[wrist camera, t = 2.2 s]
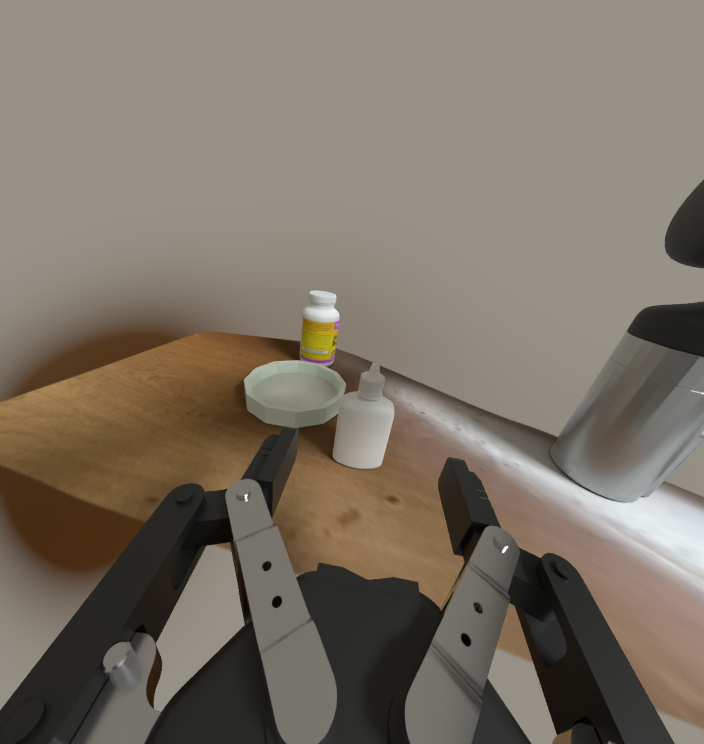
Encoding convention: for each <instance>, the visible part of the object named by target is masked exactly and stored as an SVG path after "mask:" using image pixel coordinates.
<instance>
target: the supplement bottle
mask: <svg viewBox="0 0 704 744" xmlns="http://www.w3.org/2000/svg"><path fill="white" fill-rule="evenodd" d="M309 301H310V304H309V306H306V307H305V308H304V309H303V311H302V327H301V342H300V360H301V361H305V362H311V363H317V364H321V365H323V366H325V367H327V366H330V365H331V364H332V363H333V362H334V358H335V350H336V341H337V333H338V324H339V313H338V311H337V310H336V309H334V304H335V303H336V295H335V294H333V293H329V292H325V291H310V293H309Z"/></svg>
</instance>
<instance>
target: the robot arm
mask: <svg viewBox="0 0 704 744" xmlns="http://www.w3.org/2000/svg"><path fill="white" fill-rule="evenodd" d="M665 249H666V252H667V253H668V255H669V256H670V258H671V259H673V260H675V261H677V262H679V263H681V264H684V265H687V266H692V267H698V268H704V180H703V181H702V182H701V183H700V184H699V185H698V186H697V187H696V188H695V190H694V191H693V192H692V193H691V194H690V195H689V196H688V197H687V199H686V200H685V201H684V203H683V204H682V205H681V206H680V208H679V209H678V211H677V212H676V214H675V216H674V217H673V219H672V221H671V223H670V225H669V227H668V229H667V233H666V237H665ZM298 434H299V429H298V428H292V427H287V426H284V428H283V430H282V431H281V433H280V435H275V434H272V435H270V436H269V437H268V438H266V439H265V440H264V442H263V444H262V445H261V447H260V449H259V450H258V452H257V454H256V455H255V457H254V459H253V460H252V462H251V464H250V465H249V467H248V469H247V470H246V472H245V474H244V475H243V477H242V479H241V480H239V481H237V482H235V483H233V484H232V485H231V486H230V487H229V488H228V489H224V490H218V491H208V492H204V489H203V488H202V486H200V485H198V484H194V483H190V484H184V485H181V486H179V487H177V488H175V489H174V490H172V491H171V492H170V493H169V494H168V495H167V496H166V497H165V499H164V500H163V501H162V503H161V504H160V505H159V506H158V508H157V509H156V510H155V512H154V513H153V514H152V515H151V517H150V518H149V519H148V521H147V522H146V523H145V525H144V526H143V527H142V528H141V530H140V531H139V532H138V534H137V535H136V536H135V537H134V539H133V540H132V541H131V543H130V544H129V545H128V547H127V548H126V549H125V550H124V552H123V553H122V554H121V555H120V557H119V558H118V559H117V561H116V562H115V563H114V565H113V566H112V567H111V568H110V570H109V571H108V572H107V574H106V575H105V576H104V577H103V579H102V580H101V582H100V583H99V584H98V585H97V587H96V588H95V589H94V590H93V592H92V593H91V594H90V595H89V597H88V598H87V599H86V601H85V602H84V603H83V605H82V606H81V607H80V608H79V610H78V611H77V612H76V614H75V615H74V616H73V617H72V619H71V620H70V621H69V623H68V624H67V625H66V626H65V628H64V629H63V630H62V632H61V633H60V634H59V635H58V637H57V638H56V639H55V641H54V642H53V643H52V644H51V646H50V647H49V648H48V650H47V651H46V652H45V654H44V655H43V656H42V658H41V659H40V660H39V661H38V663H37V664H36V665H35V666H34V668H33V669H32V670H31V672H30V673H29V674H28V675H27V677H26V678H25V679H24V681H23V682H22V683H21V684H20V686H19V687H18V688H17V690H16V691H15V692H14V693H13V695H12V696H11V698H10V699H9V700H8V701H7V703H6V704H5V705H4V706H3V708H2V709H1V710H0V744H531V742H530V741H529V740H528V738H527V737H526V735H525V734H524V732H523V731H522V729H521V728H520V726H519V725H518V723H517V722H516V720H515V719H514V717H513V716H512V714H511V713H510V711H509V710H508V708H507V707H506V705H505V704H504V702H503V701H502V700H501V698H500V696H499V695H498V693H497V692H496V690H495V689H494V687H493V686H492V684H491V683H490V681H489V680H488V678H487V676H488V673H489V669H490V666H491V663H492V659H493V656H494V653H495V649H496V646H497V643H498V639H499V636H500V632H501V629H502V626H503V622H504V619H505V615H506V612H507V609H508V605H509V603H511V604H513V605H514V606H515V608H516V611H517V614H518V617H519V620H520V623H521V626H522V630H523V633H524V636H525V639H526V642H527V645H528V648H529V651H530V654H531V657H532V660H533V663H534V666H535V669H536V672H537V675H538V678H539V681H540V684H541V687H542V691H543V693H544V697H545V700H546V703H547V706H548V709H549V712H550V715H551V718H552V721H553V724H554V727H555V730H556V733H557V736H556V737H555V738H554V740H553V744H674V742H673V740H672V738H671V736H670V735H669V733H668V731H667V729H666V728H665V726H664V724H663V722H662V720H661V719H660V717H659V715H658V713H657V711H656V710H655V708H654V706H653V704H652V702H651V701H650V699H649V697H648V695H647V694H646V692H645V690H644V688H643V686H642V685H641V683H640V681H639V679H638V677H637V676H636V674H635V672H634V670H633V669H632V667H631V665H630V663H629V661H628V660H627V658H626V656H625V654H624V652H623V651H622V649H621V647H620V645H619V643H618V642H617V640H616V638H615V636H614V635H613V633H612V631H611V629H610V627H609V626H608V624H607V622H606V620H605V618H604V617H603V615H602V613H601V611H600V610H599V608H598V606H597V604H596V602H595V601H594V599H593V597H592V595H591V593H590V592H589V590H588V588H587V586H586V584H585V583H584V581H583V579H582V577H581V576H580V574H579V573H578V571H577V570H576V569H575V568H574V567H573V566H572V565H571V564H570V563H569V562H568V561H567V560H565V559H564V558H562V557H560V556H558V555H556V554H553V553H546V554H544V555H543V556H542V558H539V557H537V556H535V555H533V554H531V553H529V552H527V551H525V550H523V549H521V548H519V547H518V545H517V543H516V541H515V540H514V538H513V537H512V536H511V535H510V534H509V533H507V532H506V531H505V530H503V529H501V527H500V524H499V522H498V520H497V517H496V515H495V513H494V510H493V508H492V506H491V503H490V501H489V500H488V496H487V494H486V492H485V489H484V487H483V485H482V482H481V480H480V479H479V478H478V477H477V476H476V475H475V473H474V472H470V471H469V470H468V468H467V465H466V463H465V461H464V460H461V459H456V458H450V457H449V458H448V459H447V460H446V463H445V465H444V468H443V470H442V472H441V475H440V477H439V481H438V490H439V494H440V498H441V502H442V507H443V511H444V515H445V519H446V523H447V528H448V532H449V536H450V540H451V544H452V549H453V553H454V555H459V556H463V558H464V562H465V563H464V564H463V566H462V568H461V570H460V572H459V574H458V576H457V578H456V580H455V582H454V584H453V586H452V588H451V590H450V592H449V594H448V596H447V598H446V600H445V602H444V604H443V605H442V607H441V609H440V608H439V607H438V606H437V605H436V604H435V603H434V602H433V601H432V600H430V599H429V598H428V597H427V596H425V595H424V594H422V593H420V592H419V587H418V582H415V581H410V580H405V579H400V578H395V577H392V578H383V579H374V580H367V579H365V578H363V577H361V576H359V575H357V574H355V573H353V572H351V571H349V570H347V569H345V568H343V567H339V566H334V565H329V564H323V563H318V568H317V571H311V572H307V573H304V574H302V575H299V576H298V577H296V576H295V573H294V571H293V568H292V565H291V562H290V559H289V557H288V554H287V551H286V548H285V545H284V542H283V540H282V537H281V534H280V531H279V529H278V527H277V525H276V524H275V525H274V524H273V522H272V519H271V518H272V517H273V515H274V512H275V510H276V507H277V505H278V502H279V500H280V497H281V495H282V492H283V490H284V487H285V484H286V482H287V479H288V477H289V474H290V472H291V469H292V467H293V464H294V462H295V459H296V454H297V447H298ZM703 441H704V302H697V303H688V304H674V305H657V306H651V307H647V308H645V309H643V310H642V311H641V312H639V314H638V315H637V316H636V317H635V319H634V320H633V322H632V323H631V325H630V326H629V328H628V331H626V333H625V334H624V336H623V337H622V339H621V341H620V342H619V343H618V345H617V346H616V348H615V350H614V351H613V353H612V354H611V356H610V357H609V359H608V361H607V362H606V364H605V365H604V367H603V368H602V370H601V372H600V373H599V375H598V376H597V378H596V379H595V381H594V382H593V384H592V385H591V387H590V388H589V390H588V391H587V393H586V395H585V396H584V398H583V399H582V401H581V402H580V404H579V406H578V407H577V408H576V410H575V412H574V413H573V415H572V416H571V418H570V419H569V421H568V422H567V424H566V425H565V427H564V429H563V430H562V432H561V433H560V435H559V436H558V438H557V439H556V441H555V443H554V444H553V446H552V447H551V449H550V455H551V457H552V459H553V461H554V462H555V464H556V465H557V466H558V467H559V468H560V469H561V470H562V471H563V472H564V473H565V474H567V475H568V476H569V477H570V478H572V479H573V480H574V481H576V482H577V483H579V484H581V485H582V486H584V487H585V488H587V489H589V490H591V491H593V492H595V493H597V494H599V495H602V496H604V497H606V498H610V499H613V500H616V501H622V502H633V501H636V500H638V499H639V498H640V496H645V497H649V496H650V495H651V494H652V493H653V492H654V491H655V490H656V489H657V488H658V487H659V486H660V484H661V483H662V482H663V481H664V480H665V479H666V478H667V477H668V476H669V475H670V474H671V473H672V472H673V471H674V470H675V469H676V468H677V467H678V466H679V465H680V464H681V463H682V462H683V461H684V460H685V459H686V458H687V457H688V456H689V455H690V454H691V453H692V452H693V451H694V450H695V449H696V448H697V447H698V446H699V445H700V444H701V443H702V442H703ZM227 542H230V546H231V551H232V556H233V561H234V566H235V571H236V576H237V582H238V588H239V595H240V601H241V607H242V612H243V617H244V622H245V626H243V627H242V628H241V629H240V631H238V632H237V633H236V634H235V636H233V637H232V638H231V639H230V640H229V641H228V642H227V643H226V644H225V645H224V646H223V647H222V648H221V649H220V650H219V651H218V652H217V653H216V654H215V655H214V656H213V657H212V658H211V659H210V660H209V661H208V662H207V663H206V664H205V665H204V666H203V667H202V668H201V669H200V670H199V671H198V672H197V673H196V674H195V675H194V676H193V677H192V678H191V679H190V680H189V681H188V682H187V683H186V684H185V685H184V686H183V687H182V688H181V689H180V690H179V691H178V692H177V693H176V694H175V695H174V696H173V697H172V699H171V700H170V701H169V702H168V704H167V705H166V706H165V708H164V709H163V711H162V712H159V711H156V710H154V704H153V703H154V694H155V690H156V687H157V684H158V681H159V679H160V675H161V671H162V659H161V656H160V654H159V651H158V649H157V646H156V642H157V640H158V638H159V636H160V634H161V632H162V630H163V628H164V626H165V625H166V622H167V621H168V619H169V617H170V615H171V613H172V611H173V609H174V607H175V605H176V603H177V601H178V599H179V597H180V596H181V594H182V592H183V590H184V588H185V586H186V584H187V582H188V580H189V578H190V576H191V574H192V572H193V570H194V568H195V567H196V565H197V562H198V561H199V559H200V557H201V555H202V553H203V551H204V549H205V547H206V546H207V545H213V544H220V543H227Z"/></svg>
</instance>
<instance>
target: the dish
mask: <svg viewBox="0 0 704 744" xmlns="http://www.w3.org/2000/svg"><path fill="white" fill-rule="evenodd" d="M345 389H346V383H345V382H344V380H343V379H342V378H341V377H340V375H339V374H338V373H337V372H336V371H334V370H331V369H329V368H327V367H325V366H323V365H321V364H317V363H311V362H305V361H300V360H293V361H275V362H272V363H269V364H266V365H263V366H260V367H257V368H255V369H254V370H253V371H252V372H251V373H250V374H249V375H248V376H247V377H246V378H245V379H244V391H245V400H246V406H247V410H248V411H249V412H251V413H252V414H253V415H255V416H256V417H258V418H259V419H260V420H262V421H263V422H265V423H268V424H273V425H279V426H287V427H292V428H300V427H306V426H312V425H318V424H324V423H325V422H327V421H328V420H330V419H331V418H332V417H334V416H335V415H337V414H338V413H339V407H340V402H341V399H342V397H343V396H344V395H345Z"/></svg>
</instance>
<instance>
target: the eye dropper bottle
mask: <svg viewBox="0 0 704 744" xmlns="http://www.w3.org/2000/svg"><path fill="white" fill-rule="evenodd" d="M385 381H386V379H385V377H384V376H383V375H382V374H380V364H379V363H376V362H373V363H372V365H371V368H370V370H369V371H366V372H363V373H362V374H361V377H360V383H359V388H358V391H355V392H350V393H347V394H345V395H344V396H343V397H342V399H341V402H340V407H339V413H338V420H337V427H336V433H335V440H334V447H333V459H334V460H335V461H337V462H338V463H341V464H343V465H345V466H348V467H352V468H357V469H373V468H377V467H379V466H380V465H381V464H382V461H383V457H384V453H385V449H386V446H387V442H388V438H389V434H390V430H391V427H392V423H393V418H394V405H393V403H392V402H391V401H390V400H389V399H387V398H386V397H384V396H382V394H383V389H384V385H385Z"/></svg>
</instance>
